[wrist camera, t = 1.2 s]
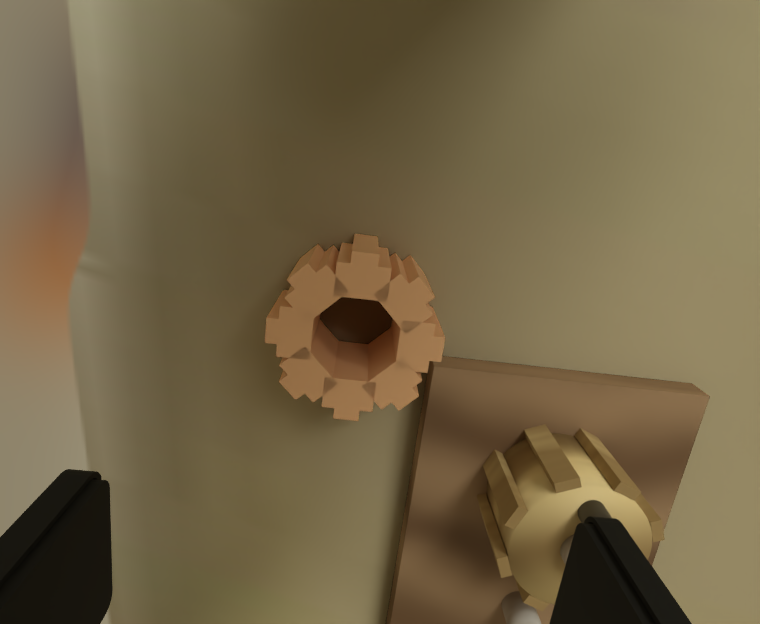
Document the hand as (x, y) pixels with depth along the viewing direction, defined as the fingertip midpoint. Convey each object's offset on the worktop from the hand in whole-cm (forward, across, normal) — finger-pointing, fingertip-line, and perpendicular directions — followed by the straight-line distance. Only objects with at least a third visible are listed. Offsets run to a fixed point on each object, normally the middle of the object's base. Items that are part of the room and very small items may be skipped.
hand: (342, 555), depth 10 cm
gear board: (+16, -11, +12) cm, 23 cm away
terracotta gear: (+16, 0, 0) cm, 16 cm away
